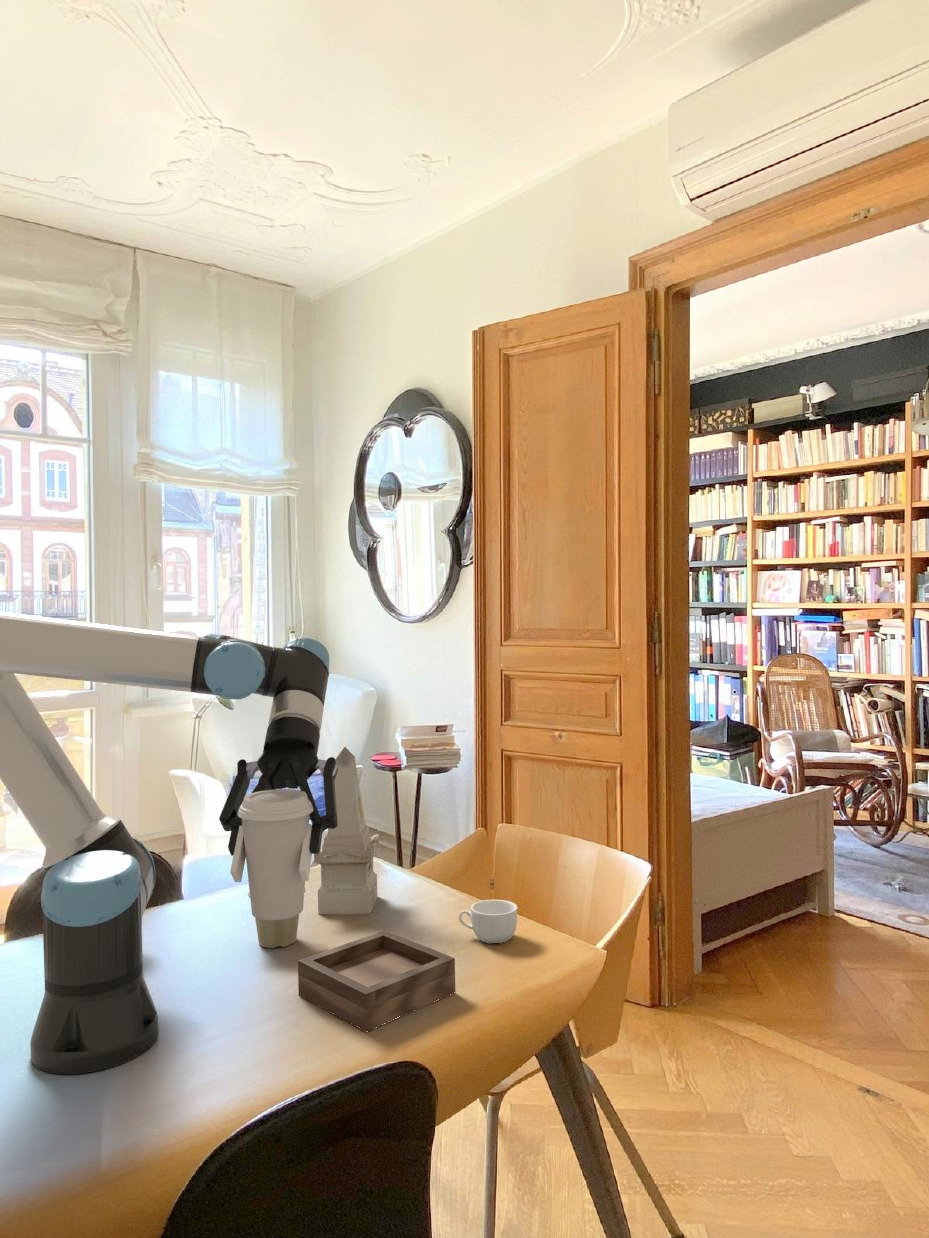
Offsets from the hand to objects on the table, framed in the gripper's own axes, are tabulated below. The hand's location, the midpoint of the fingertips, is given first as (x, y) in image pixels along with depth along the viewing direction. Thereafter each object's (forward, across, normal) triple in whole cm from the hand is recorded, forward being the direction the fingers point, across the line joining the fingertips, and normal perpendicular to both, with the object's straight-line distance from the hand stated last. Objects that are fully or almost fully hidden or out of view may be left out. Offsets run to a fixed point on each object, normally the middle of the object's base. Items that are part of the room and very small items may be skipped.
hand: (269, 876), depth 107 cm
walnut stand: (+5, -11, -27) cm, 29 cm away
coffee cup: (+2, 0, -6) cm, 7 cm away
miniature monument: (-22, 0, -54) cm, 59 cm away
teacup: (-10, -27, -42) cm, 51 cm away
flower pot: (-10, +8, -42) cm, 43 cm away
